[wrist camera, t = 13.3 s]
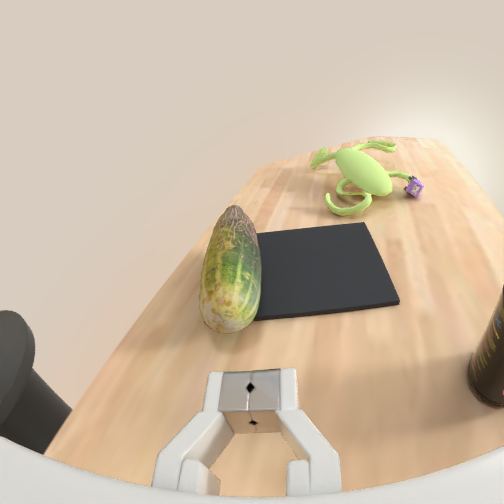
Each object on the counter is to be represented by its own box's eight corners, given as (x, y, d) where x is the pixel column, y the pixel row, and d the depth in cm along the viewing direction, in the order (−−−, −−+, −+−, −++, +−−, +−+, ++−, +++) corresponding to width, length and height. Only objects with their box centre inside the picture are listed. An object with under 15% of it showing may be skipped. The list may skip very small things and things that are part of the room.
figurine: (387, 157, 64) (386, 134, 61) (441, 211, 42) (444, 177, 39) (308, 163, 67) (305, 139, 63) (329, 221, 44) (327, 185, 41)
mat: (204, 323, 32) (203, 319, 31) (224, 240, 45) (223, 237, 45) (399, 304, 29) (400, 300, 29) (364, 225, 42) (364, 221, 42)
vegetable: (176, 333, 26) (202, 216, 42) (231, 362, 28) (237, 242, 45) (220, 297, 23) (232, 186, 40) (278, 333, 26) (267, 215, 42)
